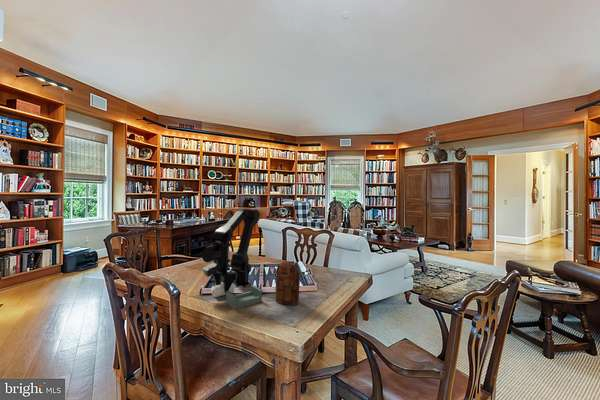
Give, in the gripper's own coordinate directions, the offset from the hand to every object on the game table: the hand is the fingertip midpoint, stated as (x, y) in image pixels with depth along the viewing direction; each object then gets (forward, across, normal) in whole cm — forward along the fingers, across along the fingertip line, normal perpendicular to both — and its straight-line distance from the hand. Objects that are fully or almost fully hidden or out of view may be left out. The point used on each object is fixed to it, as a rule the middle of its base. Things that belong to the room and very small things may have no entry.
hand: (221, 290), depth 134 cm
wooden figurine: (+2, +25, +19) cm, 31 cm away
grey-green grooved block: (+2, +14, +4) cm, 15 cm away
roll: (+2, 0, 0) cm, 2 cm away
